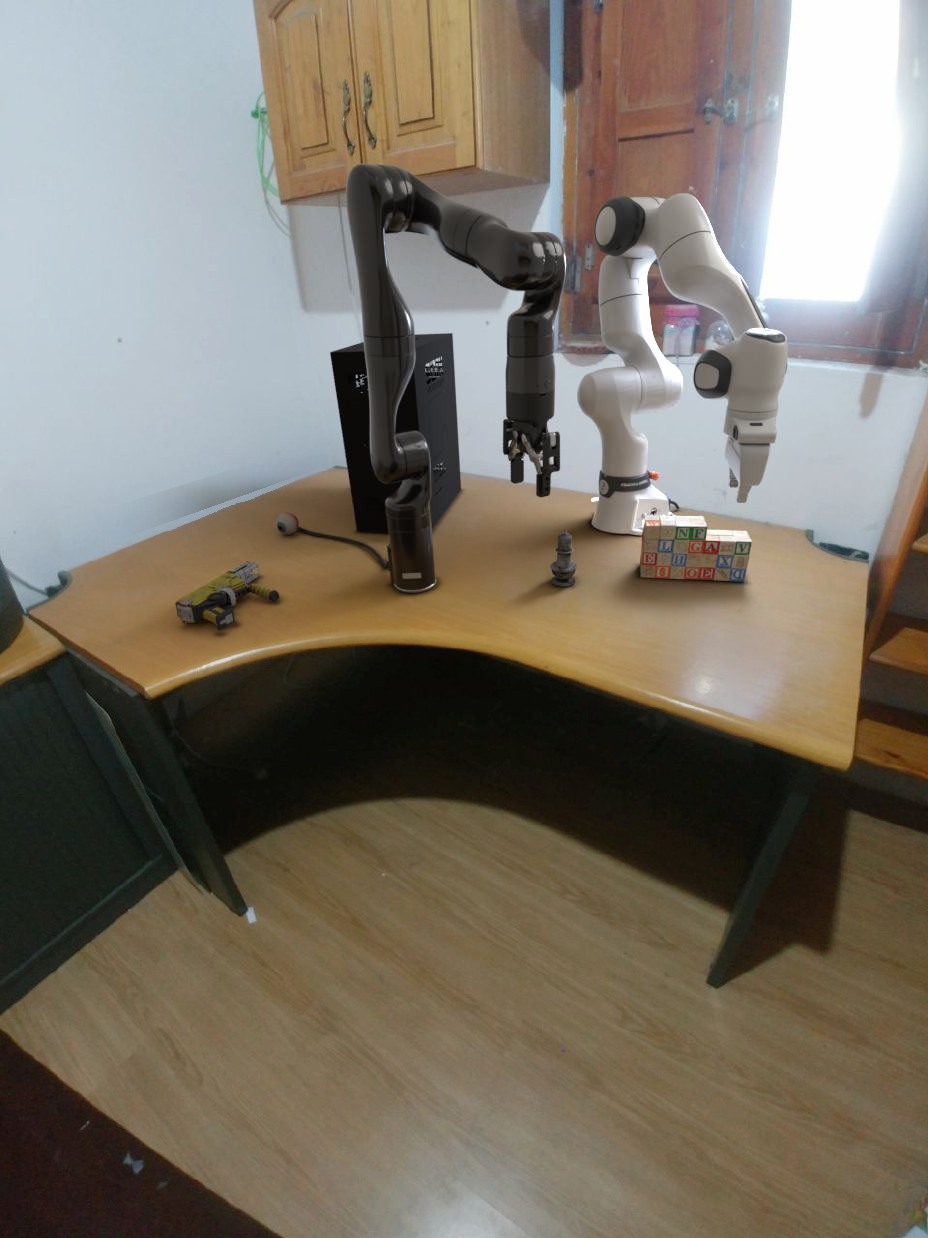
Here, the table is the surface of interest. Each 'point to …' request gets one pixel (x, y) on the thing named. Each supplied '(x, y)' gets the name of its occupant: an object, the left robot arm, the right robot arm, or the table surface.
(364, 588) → the table surface
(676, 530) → the stack of blocks
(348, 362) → the cardboard box
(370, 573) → the table surface
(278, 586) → the table surface
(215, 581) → the toy gun
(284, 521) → the eyeball
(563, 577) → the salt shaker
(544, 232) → the left robot arm
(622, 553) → the table surface
